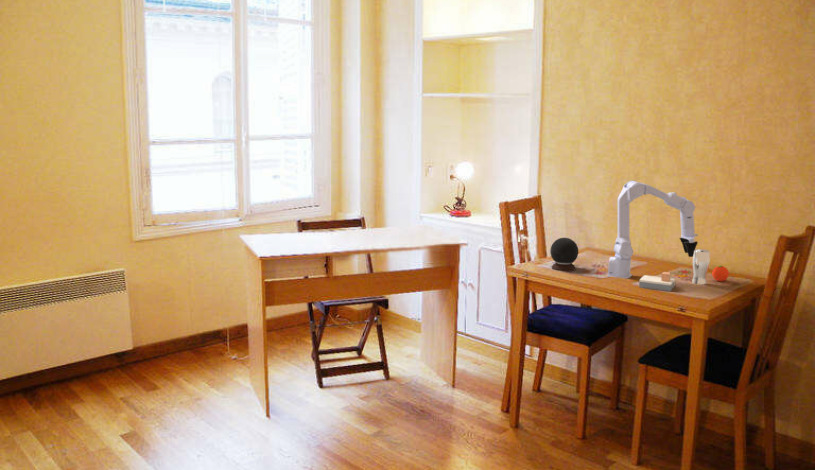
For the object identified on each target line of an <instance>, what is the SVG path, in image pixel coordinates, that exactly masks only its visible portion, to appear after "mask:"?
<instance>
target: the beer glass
mask: <svg viewBox="0 0 815 470" xmlns="http://www.w3.org/2000/svg"><path fill="white" fill-rule="evenodd" d="M710 253H711V251H710V250H708V249H701V248H695V250H694V254H693V257H692V272H693V276H692V280H691V283H692V284H695V285H707V275H708V274H707V273H708V269H709V266H710V260H711V257H710V256H711V254H710Z"/></svg>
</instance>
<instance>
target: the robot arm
mask: <svg viewBox="0 0 815 470" xmlns="http://www.w3.org/2000/svg"><path fill="white" fill-rule="evenodd" d="M622 186H623V187H622V190H621V192H620V193H619V195H618V197H617V237H616V238H615V243H614V246H613V252H614V253H615V254H614V256H610V257H609V259H608V271H607V277H608V278H609V277H613V278H620V279H626V280H627V279H630V278H631V277H632V276H633V274H631V264H632V263H631V261H632V256H633V254H634V249H633V247H632V241H631V239H630V204H631V203H632V202H633V201H634V200H635V199H636V200H637V199H638V198H640V197H642V196H643V195H645V196H646V195H651V196H654V197H657V198H659V199H661V200H663V203H664V204H665V205H667V206H669V207H672V208H674V209H676V210H679V214H680V216H679V218H680V234H681V235H680V237H679V240H680V242H681V244H682V247H683V251H684V253H685V254H687V256H688V258H693V254H694V250H695V249H697V245H698V244H699V243H698V241H695V238H696V237H698V236H699V235H698V234H697V233H695V216H694V212H695V210H696V205H695V203H694V202H693V201H692V200H689V199H687V198H686V197H685V196H681V195H678V193H677V192H674V191H671V192H670V191H669V192H668V193H666V192H664V191H662V190H660V189H658V188H656V187H655V186H653V185H650V184H646V183H643V182H639V181H638V182H637V181H635V180H629V181H627V182H626V183H624V185H622Z"/></svg>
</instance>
